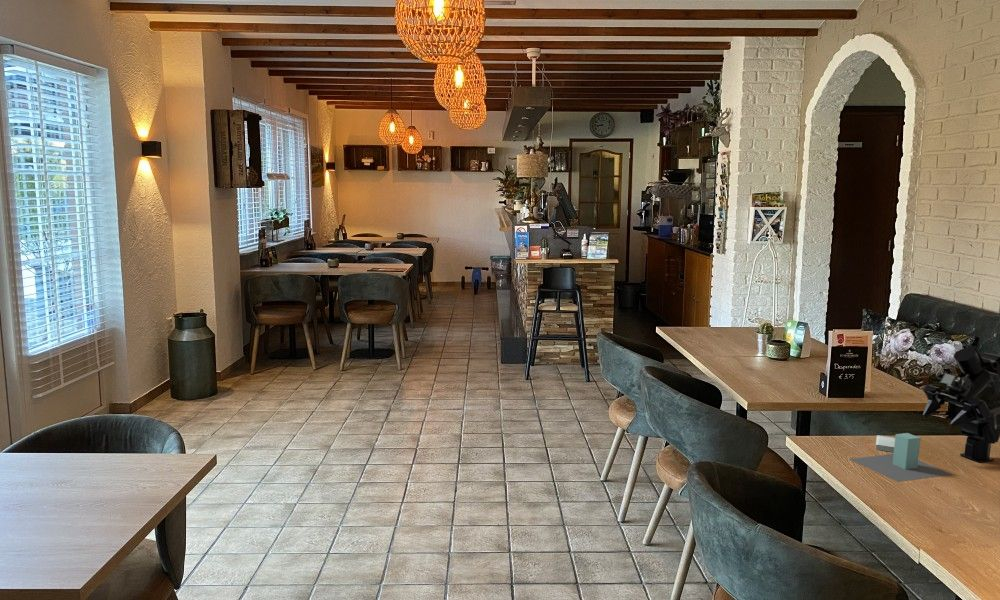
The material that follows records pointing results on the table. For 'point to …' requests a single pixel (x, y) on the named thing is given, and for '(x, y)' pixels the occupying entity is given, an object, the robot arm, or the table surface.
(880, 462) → the rubber mat
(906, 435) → the teal block
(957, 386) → the robot arm
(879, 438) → the hard drive
